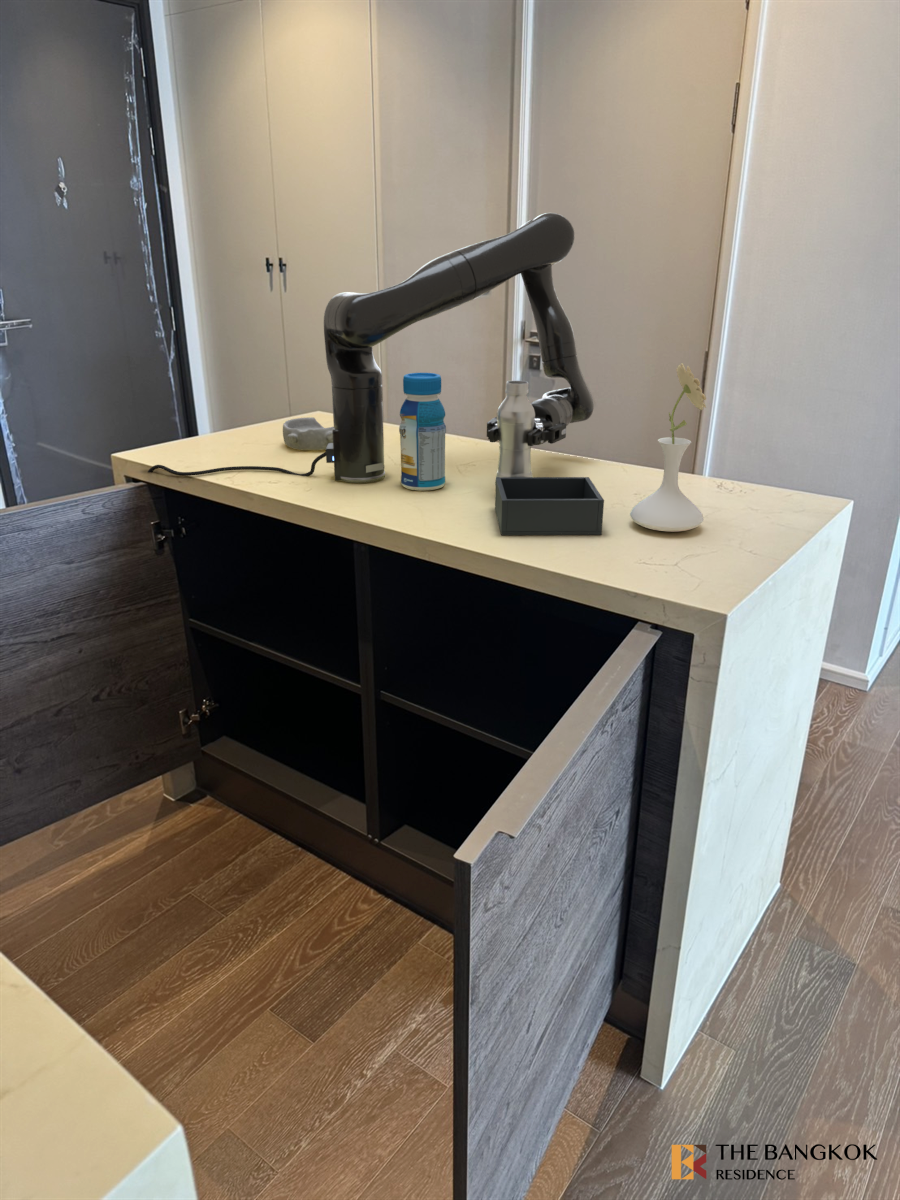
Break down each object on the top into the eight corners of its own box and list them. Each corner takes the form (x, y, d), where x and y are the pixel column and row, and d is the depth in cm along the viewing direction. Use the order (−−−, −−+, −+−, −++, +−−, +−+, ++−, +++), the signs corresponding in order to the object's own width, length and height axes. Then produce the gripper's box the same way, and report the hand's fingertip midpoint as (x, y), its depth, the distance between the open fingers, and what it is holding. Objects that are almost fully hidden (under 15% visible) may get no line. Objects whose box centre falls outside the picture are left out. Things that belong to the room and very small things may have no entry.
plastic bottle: (533, 502, 149) (539, 385, 141) (494, 502, 149) (498, 385, 141) (531, 492, 155) (536, 379, 147) (493, 492, 155) (496, 378, 147)
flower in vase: (701, 541, 131) (723, 372, 121) (625, 534, 134) (640, 369, 124) (702, 516, 142) (722, 360, 133) (632, 510, 145) (646, 357, 136)
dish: (294, 437, 197) (292, 415, 195) (353, 439, 195) (352, 417, 193) (273, 452, 183) (271, 428, 181) (336, 454, 182) (335, 430, 180)
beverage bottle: (439, 493, 155) (439, 379, 147) (394, 490, 156) (391, 377, 149) (450, 481, 162) (451, 372, 154) (407, 478, 164) (406, 370, 156)
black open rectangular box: (501, 535, 133) (502, 500, 131) (494, 509, 146) (495, 477, 143) (601, 534, 133) (604, 500, 131) (586, 509, 146) (588, 476, 144)
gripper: (505, 397, 161) (471, 412, 147) (580, 403, 156) (552, 419, 142) (504, 437, 164) (470, 456, 150) (577, 444, 159) (550, 464, 145)
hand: (510, 438), depth 146 cm, fingers closed on plastic bottle, 6 cm apart
